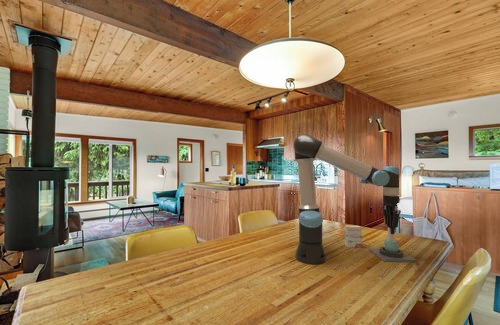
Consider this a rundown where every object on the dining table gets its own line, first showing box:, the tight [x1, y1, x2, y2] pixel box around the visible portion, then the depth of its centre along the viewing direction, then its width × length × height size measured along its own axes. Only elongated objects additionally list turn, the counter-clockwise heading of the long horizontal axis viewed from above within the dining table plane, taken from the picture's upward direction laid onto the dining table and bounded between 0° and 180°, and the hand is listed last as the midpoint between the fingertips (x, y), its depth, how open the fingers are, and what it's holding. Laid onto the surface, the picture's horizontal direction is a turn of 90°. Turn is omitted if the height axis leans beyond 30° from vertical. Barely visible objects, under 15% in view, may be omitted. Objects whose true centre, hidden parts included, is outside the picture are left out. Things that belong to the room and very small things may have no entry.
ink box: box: [344, 224, 363, 249], centre depth 145 cm, size 9×5×12 cm, turn 84°
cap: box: [384, 238, 400, 253], centre depth 130 cm, size 6×6×7 cm
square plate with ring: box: [368, 246, 417, 263], centre depth 130 cm, size 16×16×3 cm
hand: (391, 239), depth 130 cm, fingers closed
